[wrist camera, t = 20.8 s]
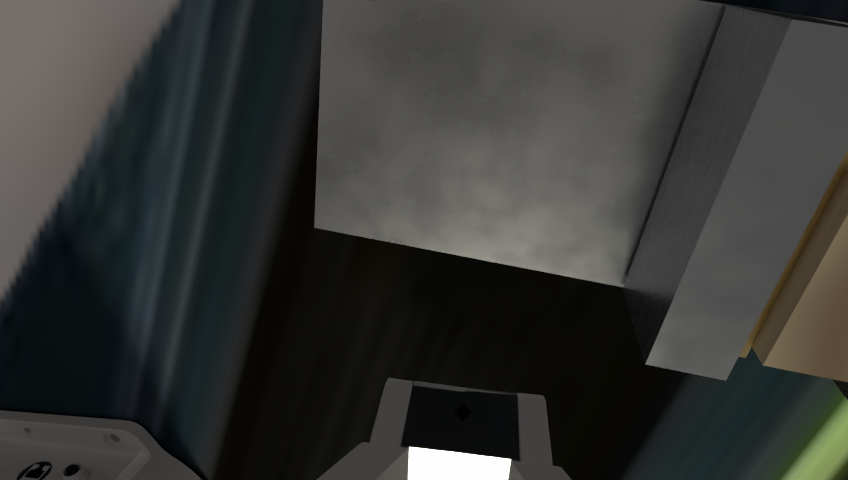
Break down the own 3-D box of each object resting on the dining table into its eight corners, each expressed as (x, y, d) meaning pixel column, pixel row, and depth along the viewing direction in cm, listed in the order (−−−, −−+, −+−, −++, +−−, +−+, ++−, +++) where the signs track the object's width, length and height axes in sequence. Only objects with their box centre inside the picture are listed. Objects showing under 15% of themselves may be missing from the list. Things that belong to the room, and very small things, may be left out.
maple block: (709, 275, 28) (763, 365, 22) (777, 124, 24) (866, 181, 18) (789, 290, 28) (867, 386, 21) (871, 140, 24) (994, 203, 18)
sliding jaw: (622, 289, 29) (645, 364, 23) (727, 4, 22) (792, 19, 17) (699, 304, 28) (740, 383, 23) (829, 20, 22) (927, 39, 16)
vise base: (325, 212, 32) (271, 284, 25) (339, -55, 25) (269, -61, 18) (854, 313, 30) (957, 423, 23) (1021, 48, 23) (1240, 87, 16)
